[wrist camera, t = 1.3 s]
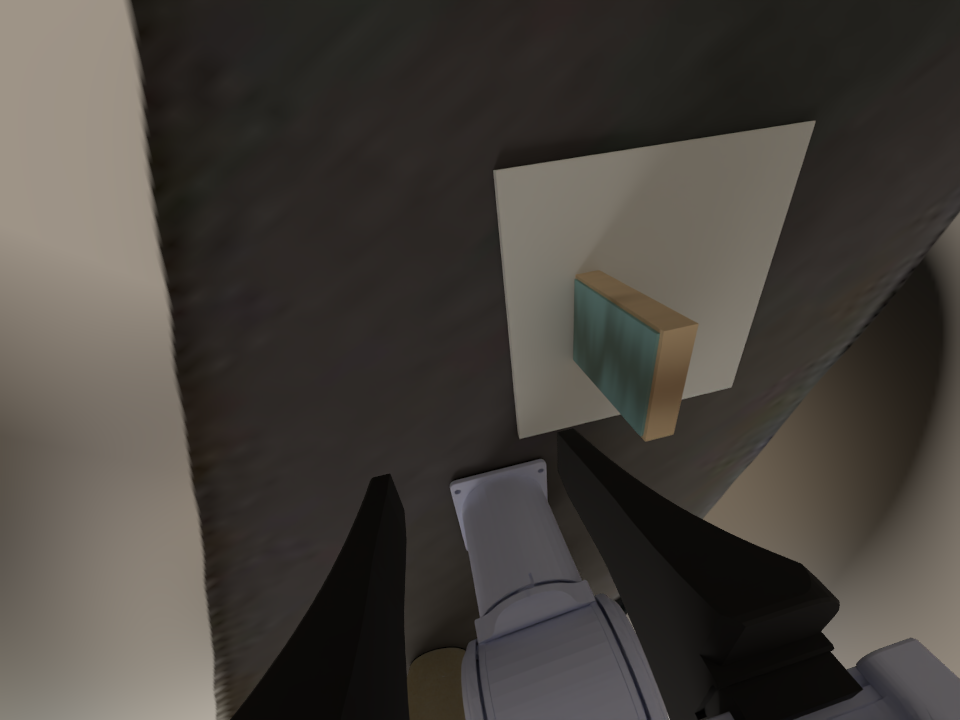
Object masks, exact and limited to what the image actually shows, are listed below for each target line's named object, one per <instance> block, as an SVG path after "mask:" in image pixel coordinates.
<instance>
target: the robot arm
mask: <svg viewBox="0 0 960 720" xmlns="http://www.w3.org/2000/svg"><path fill="white" fill-rule="evenodd" d="M557 441H558V472H559V474H560V477H561V479H562V482H563V484H564V487H565V489H566V491H567V494H568V496H569V498H570V500H571V501H572V503H573V505H574V507H575V509H576V511H577V512H578V514H579V516H580V518H581V520H582V521H583V523H584V525H585V527H586V528H587V530H588V532H589V534H590V536H591V537H592V539H593V541H594V543H595V545H596V546H597V548H598V550H599V552H600V554H601V556H602V558H603V560H604V561H605V563H606V565H607V568H608V570H609V572H610V574H611V576H612V579H613V581H614V583H615V585H616V588H617V590H618V592H619V594H620V597H621V599H622V601H623V604H624V606H625V608H626V611H627V613H628V615H629V618H630V620H631V622H632V624H633V627H634V629H635V631H636V633H635V631H634V629H633V627H632V625H631V624H630V622H629V620H628V618H627V617H626V615H625V613H624V612H623V610H622V609H621V607H620V606H619V605H618V603H617V602H615V601H614V600H612V599H610V598H608V597H607V596H606V595H605V594H598V595H595V597H594V595H593V593H592V591H591V588H590V586H589V584H588V582H587V580H583V581H582V579H581V577H580V575H579V572H578V570H577V568H576V565H575V563H574V561H573V559H572V556H571V554H570V552H569V549H568V547H567V545H566V543H565V540H564V538H563V536H562V533H561V531H560V529H559V526H558V524H557V522H556V520H555V517H554V515H553V513H552V510H551V508H550V506H549V504H548V497H547V470H546V463H545V461H544V460H543V459H538V460H534V461H530V462H526V463H522V464H518V465H514V466H510V467H506V468H502V469H498V470H494V471H490V472H486V473H482V474H478V475H474V476H470V477H466V478H462V479H458V480H455V481H453V482H451V483H450V490H451V494H452V498H453V501H454V505H455V509H456V513H457V517H458V520H459V524H460V528H461V532H462V536H463V539H464V543H465V547H466V550H467V551H468V552H469V558H470V563H471V569H472V575H473V580H474V586H475V592H476V597H477V603H478V609H479V614H480V618H478V619H476V620H475V628H476V634H477V639H475V640H472V641H470V642H469V643H468V645H467V649H466V652H465V654H464V657H463V660H462V666H461V684H462V696H463V705H464V713H465V719H466V720H669V719H668V716H667V713H668V715H669V718H670V720H960V679H959V678H958V677H957V676H956V675H955V674H954V673H953V672H952V671H950V670H949V669H948V668H947V667H946V666H945V665H944V664H943V663H942V662H941V661H940V660H939V659H938V658H936V657H935V656H934V655H933V654H932V653H931V652H930V651H929V650H928V649H927V648H926V647H924V646H923V645H922V644H921V643H920V642H919V641H918V640H916V639H913V638H909V639H906V640H903V641H900V642H897V643H894V644H892V645H889V646H886V647H883V648H880V649H878V650H875V651H873V652H871V653H869V654H867V655H866V656H864V657H863V658H861V659H860V660H859V661H858V662H857V664H856V666H855V667H852V668H850V669H847V670H846V669H845V668H844V667H843V665H842V664H841V663H840V662H839V661H838V660H837V659H836V657H835V656H834V655H833V654H832V653H831V652H830V651H832V650H833V649H834V647H833V644H832V643H831V642H830V641H829V640H828V639H827V638H826V637H825V635H824V634H823V633H822V632H821V631H822V629H823V628H824V627H825V626H826V625H827V624H828V623H829V622H830V620H831V619H832V618H833V617H834V616H835V615H836V613H837V612H838V611H839V606H840V604H839V600H838V599H837V598H836V597H835V596H834V595H833V594H832V593H831V592H830V591H829V590H828V589H827V588H826V587H825V586H824V585H823V584H822V583H821V582H820V581H819V580H818V579H817V578H816V577H815V576H814V575H813V574H812V573H811V572H810V571H809V570H808V569H807V568H805V567H804V566H803V565H802V564H801V563H798V562H796V561H793V560H791V559H788V558H786V557H783V556H781V555H778V554H776V553H773V552H771V551H769V550H766V549H764V548H761V547H759V546H756V545H754V544H752V543H750V542H748V541H745V540H743V539H741V538H739V537H736V536H735V535H732V534H730V533H728V532H726V531H724V530H722V529H720V528H718V527H716V526H714V525H712V524H710V523H708V522H707V521H705V520H703V519H701V518H699V517H697V516H695V515H693V514H691V513H689V512H688V511H686V510H684V509H682V508H681V507H679V506H677V505H676V504H674V503H672V502H671V501H669V500H667V499H666V498H664V497H662V496H661V495H659V494H658V493H656V492H655V491H653V490H652V489H650V488H649V487H647V486H646V485H644V484H643V483H641V482H640V481H639V480H637V479H636V478H634V477H633V476H631V475H630V474H629V473H627V472H626V471H625V470H623V469H622V468H621V467H619V466H618V465H617V464H616V463H614V462H613V461H612V460H610V459H609V458H608V457H607V456H605V455H604V454H603V453H602V452H601V451H599V450H598V449H597V448H596V447H594V446H593V445H592V444H591V443H590V442H589V441H587V440H586V439H585V438H584V437H583V436H582V435H580V434H579V433H578V432H577V431H576V430H574V429H569V430H565V431H561V432H557ZM405 568H406V526H405V513H404V508H403V505H402V503H401V500H400V498H399V495H398V493H397V490H396V487H395V485H394V482H393V480H392V477H391V475H390V474H386V475H382V476H378V477H374V478H372V479H371V481H370V483H369V486H368V489H367V492H366V494H365V497H364V500H363V502H362V505H361V507H360V509H359V512H358V514H357V517H356V519H355V521H354V524H353V526H352V528H351V530H350V533H349V535H348V537H347V539H346V541H345V543H344V546H343V548H342V550H341V552H340V553H339V555H338V557H337V559H336V561H335V563H334V565H333V567H332V569H331V571H330V573H329V575H328V577H327V579H326V580H325V582H324V584H323V586H322V588H321V589H320V591H319V593H318V594H317V596H316V598H315V600H314V601H313V603H312V605H311V606H310V608H309V610H308V611H307V613H306V614H305V616H304V617H303V619H302V621H301V622H300V624H299V625H298V627H297V629H296V630H295V632H294V633H293V635H292V636H291V638H290V639H289V641H288V642H287V644H286V645H285V647H284V648H283V649H282V651H281V652H280V654H279V655H278V656H277V658H276V659H275V661H274V662H273V663H272V665H271V666H270V668H269V669H268V670H267V672H266V673H265V675H264V676H263V677H262V679H261V680H260V682H259V683H258V684H257V686H256V687H255V688H254V690H253V691H252V692H251V694H250V695H249V696H248V698H247V699H246V700H245V702H244V703H243V704H242V705H241V707H240V708H239V709H238V710H237V712H236V713H235V714H234V716H233V717H232V718H231V719H230V720H410V718H409V704H408V690H407V673H406V656H405V636H404V595H405ZM636 634H637V635H636Z"/></svg>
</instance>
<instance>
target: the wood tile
mask: <svg viewBox="0 0 960 720" xmlns="http://www.w3.org/2000/svg"><path fill="white" fill-rule="evenodd" d="M698 325H699V324H698V323H696V322H695V321H693V320H691V319H689V318H687V317H685V316H683V315H682V314H680V313H678V312H676V311H674V310H672V309H671V308H669V307H667V306H665V305H663V304H661V303H659V302H658V301H656V300H654V299H652V298H650V297H648V296H646V295H645V294H643V293H641V292H639V291H637V290H635V289H633V288H632V287H630V286H628V285H626V284H624V283H622V282H620V281H619V280H617V279H615V278H613V277H611V276H609V275H607V274H606V273H604V272H602V271H600V270H597V271H592V272H587V273H582V274H576V275H575V279H574V336H573V360H574V361H575V363H576V364H577V365H578V366H579V367H580V368H581V369H582V371H583V372H584V373H585V374H586V375H587V376H588V377H589V379H590V380H591V381H592V382H593V383H594V384H595V385H596V387H597V388H598V389H599V390H600V391H601V392H602V393H603V395H604V396H605V397H606V398H607V399H608V400H609V401H610V402H611V404H612V405H613V406H614V407H615V408H616V409H617V410H618V412H619V413H620V414H621V415H622V416H623V417H624V418H625V420H626V421H627V422H628V423H629V424H630V425H631V426H632V428H633V429H634V430H635V431H636V432H637V433H638V434H639V436H641V437H642V439H643V440H644V441H645V442H646V441H650V440H654V439H657V438H661V437H665V436H669V435H673V434H674V430H675V426H676V421H677V417H678V412H679V408H680V404H681V399H682V395H683V390H684V386H685V382H686V377H687V373H688V368H689V364H690V360H691V355H692V351H693V347H694V342H695V338H696V333H697V329H698Z"/></svg>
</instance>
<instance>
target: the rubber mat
mask: <svg viewBox="0 0 960 720" xmlns="http://www.w3.org/2000/svg"><path fill="white" fill-rule="evenodd" d="M815 122H816V121H808V122H801V123H794V124H788V125H782V126H775V127H769V128H762V129H756V130H749V131H743V132H737V133H730V134H724V135H717V136H711V137H704V138H698V139H692V140H685V141H679V142H672V143H666V144H659V145H653V146H647V147H640V148H634V149H627V150H621V151H614V152H608V153H602V154H595V155H589V156H582V157H576V158H570V159H563V160H557V161H550V162H544V163H537V164H531V165H525V166H518V167H512V168H505V169H499V170H493V173H494V184H495V194H496V205H497V216H498V227H499V237H500V248H501V259H502V269H503V280H504V291H505V302H506V312H507V323H508V334H509V344H510V355H511V366H512V377H513V387H514V398H515V409H516V419H517V430H518V436H519V438H520V439H522V438H526V437H530V436H534V435H538V434H542V433H546V432H550V431H554V430H559V429H563V428H567V427H571V426H575V425H579V424H583V423H587V422H591V421H595V420H600V419H604V418H608V417H612V416H616V415H620V413H619V412H618V410H617V409H616V408H615V407H614V406H613V405H612V404H611V402H610V401H609V400H608V399H607V398H606V397H605V396H604V395H603V393H602V392H601V391H600V390H599V389H598V388H597V387H596V385H595V384H594V383H593V382H592V381H591V380H590V379H589V377H588V376H587V375H586V374H585V373H584V372H583V371H582V369H581V368H580V367H579V366H578V365H577V364H576V363H575V361H574V360H573V336H574V279H575V275H576V274H582V273H587V272H592V271H597V270H600V271H602V272H604V273H606V274H607V275H609V276H611V277H613V278H615V279H617V280H619V281H620V282H622V283H624V284H626V285H628V286H630V287H632V288H633V289H635V290H637V291H639V292H641V293H643V294H645V295H646V296H648V297H650V298H652V299H654V300H656V301H658V302H659V303H661V304H663V305H665V306H667V307H669V308H671V309H672V310H674V311H676V312H678V313H680V314H682V315H683V316H685V317H687V318H689V319H691V320H693V321H695V322H696V323H698V324H699V325H698V329H697V333H696V338H695V342H694V347H693V351H692V355H691V360H690V364H689V368H688V373H687V377H686V382H685V386H684V390H683V395H682V399H686V398H690V397H694V396H698V395H702V394H706V393H710V392H714V391H718V390H722V389H726V388H731V387H732V384H733V381H734V378H735V375H736V372H737V368H738V365H739V362H740V359H741V356H742V353H743V349H744V346H745V343H746V340H747V337H748V334H749V330H750V327H751V324H752V321H753V318H754V315H755V312H756V308H757V305H758V302H759V299H760V296H761V293H762V289H763V286H764V283H765V280H766V277H767V274H768V270H769V267H770V264H771V261H772V258H773V255H774V252H775V248H776V245H777V242H778V239H779V236H780V233H781V229H782V226H783V223H784V220H785V217H786V214H787V210H788V207H789V204H790V201H791V198H792V195H793V191H794V188H795V185H796V182H797V179H798V176H799V173H800V169H801V166H802V163H803V160H804V157H805V154H806V150H807V147H808V144H809V141H810V138H811V135H812V131H813V128H814V125H815Z"/></svg>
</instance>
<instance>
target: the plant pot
mask: <svg viewBox="0 0 960 720" xmlns="http://www.w3.org/2000/svg"><path fill="white" fill-rule="evenodd" d="M465 652H466V651H465V650H463V649H460V648H442V649H437V650H433V651H430V652H428V653H425V654H423V655H421V656H420V657H418V658H417V659H415V660H414V661H413V662H412V664H411V666H410V669H409V672H408V676H407V690H408V704H409V718H410V720H466V719H465V713H464V705H463V696H462V684H461V666H462V660H463V657H464V654H465Z"/></svg>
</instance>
